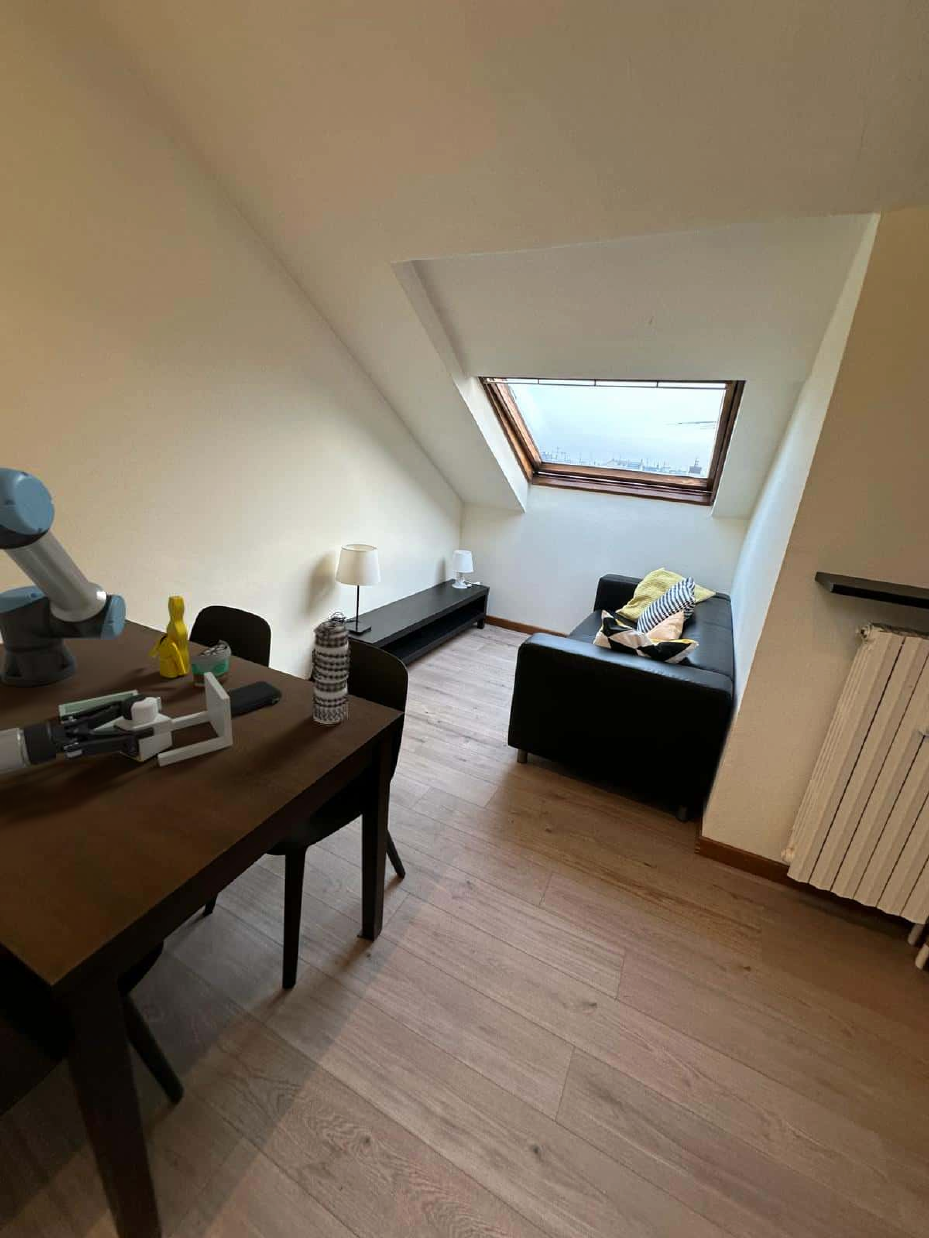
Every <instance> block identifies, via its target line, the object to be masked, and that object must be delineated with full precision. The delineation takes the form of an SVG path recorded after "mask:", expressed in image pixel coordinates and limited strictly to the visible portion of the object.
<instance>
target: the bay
mask: <svg viewBox="0 0 929 1238" xmlns="http://www.w3.org/2000/svg"><path fill="white" fill-rule="evenodd" d="M204 681H205V689H204V691H205V692H204V693H205V702H206V710H204V711H200V712H196V713H193V714H189V715H184V716H179V717H176V718H171V719H172V728H173V731H176V730H180V729H183V728H188V727H192V726H194V725H195V726H196V725H199V724H202V723H206V722H209V723H210V724H211V726H212V728H213V730H214V731H215V732H216V734H217V736H218V737H215V738H211V739H208V740H204V741H200V742H198V743H194V744H190V745H186V746H183V747H179V748H175V749H172V750H169V751H165V752H162V753H157V759H158V760H157V761H158V764H159V766H160V767H164V766H167V765H170V764H173V763H177V762H181V761H183V760H186V759H191V758H194V757H197V756H200V755H204V754H207V753H210V752H214V751H217V750H218V751H219V750H221V749H224V748H225V749H226V747H231V746H233V744H234V743H233V742H234V741H233V729H232V728H233V727H232V715H231V710H230V697H229V696H228V695H227V693H226V692H227V691H226V690H225V689H224V688H223V685H220V684H219V682H218V681H217V680H216V678H215V677H214V676H213V674H212V673H211V672H208V673H204Z"/></svg>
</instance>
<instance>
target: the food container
mask: <svg viewBox="0 0 929 1238" xmlns="http://www.w3.org/2000/svg"><path fill="white" fill-rule="evenodd" d="M231 654H232V650H231V648H230V646H229V644H228V643H227V642H225V641H224V640H221V639H219V640H218V644H216V645H214V646H211V647H208V648H205V649H204V650H202V651H201V652H200V653H198V654H197V655H192V654H191V655H189V663H190V666H191V670H192V675H193V680H194V686H195V689H201V690H205V681H204V673H208V672H211V673H212V674H213V676H214V677H215V678H216V680H217V681H218V682H219V684H220V685H221V686H223V685H225V684H226V683H228V679H229V678H228V676H229V657H230V656H231Z"/></svg>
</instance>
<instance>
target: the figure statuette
mask: <svg viewBox="0 0 929 1238" xmlns="http://www.w3.org/2000/svg"><path fill="white" fill-rule="evenodd" d="M167 608H168V614H169V622H168V623H167V626H166V630H165V632H166V633H164V634H162V635H161V636H159V637H158V638H157V642H156V644H155V646H153V648H152V650H151V651H150V653H149V654H148V655H149V657H150V658H154V659H155V658H156V657H157V656H158V670H159V675H160V676H162V677H164V678H168V679H171V678H172V679H173V678H177V677H178V676H186V675H187V674H189V672H190V670H191V669H190V668H191V663H189V658H190V655H189V651H188V650H189V649H188V640H189V633H188V630H187V628H186V625H185V622H184V615H185V603H184V598H183V597H182V596H180V595H174V596H169V597H168V602H167Z"/></svg>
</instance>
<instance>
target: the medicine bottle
mask: <svg viewBox="0 0 929 1238" xmlns="http://www.w3.org/2000/svg"><path fill="white" fill-rule="evenodd" d="M156 698H157V697H155V696H154V695H153V694H147V693H144V694H143V693H142V694H141V693H140V694H138V695H135V696H131V697H129V698H127V699H125V700H124V701H123V702H122V704H121V707H122V714H123V719H121V720H119V721H116V722H114V724H113V725H114V731H119V730H133V727H135V726H139V725H143V724H147V723H151V722H155V721H160V720H164V719H168V718H170V717H169V716H167V715H164V714H162V713H159V710H158V707H157V699H156ZM135 742H136V746H134V747H133V748H132V749H130V750H124V751H117V753H120V754H122V755H124V756H127V757H129V758H131V759H133V760H136V761H137V762H140V763H141V762H145V761H146V760H148V759H149V758H152V757H153V756H155V755H158V754H160V752H162V751H164V750H167V749H168V748H170V747H171V746H173V740H172V731H170V732H166V733H162V734H159V735H155V736H152V737H148V738H144V739H140V740H137V741H135ZM124 745H125V744H124Z"/></svg>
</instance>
